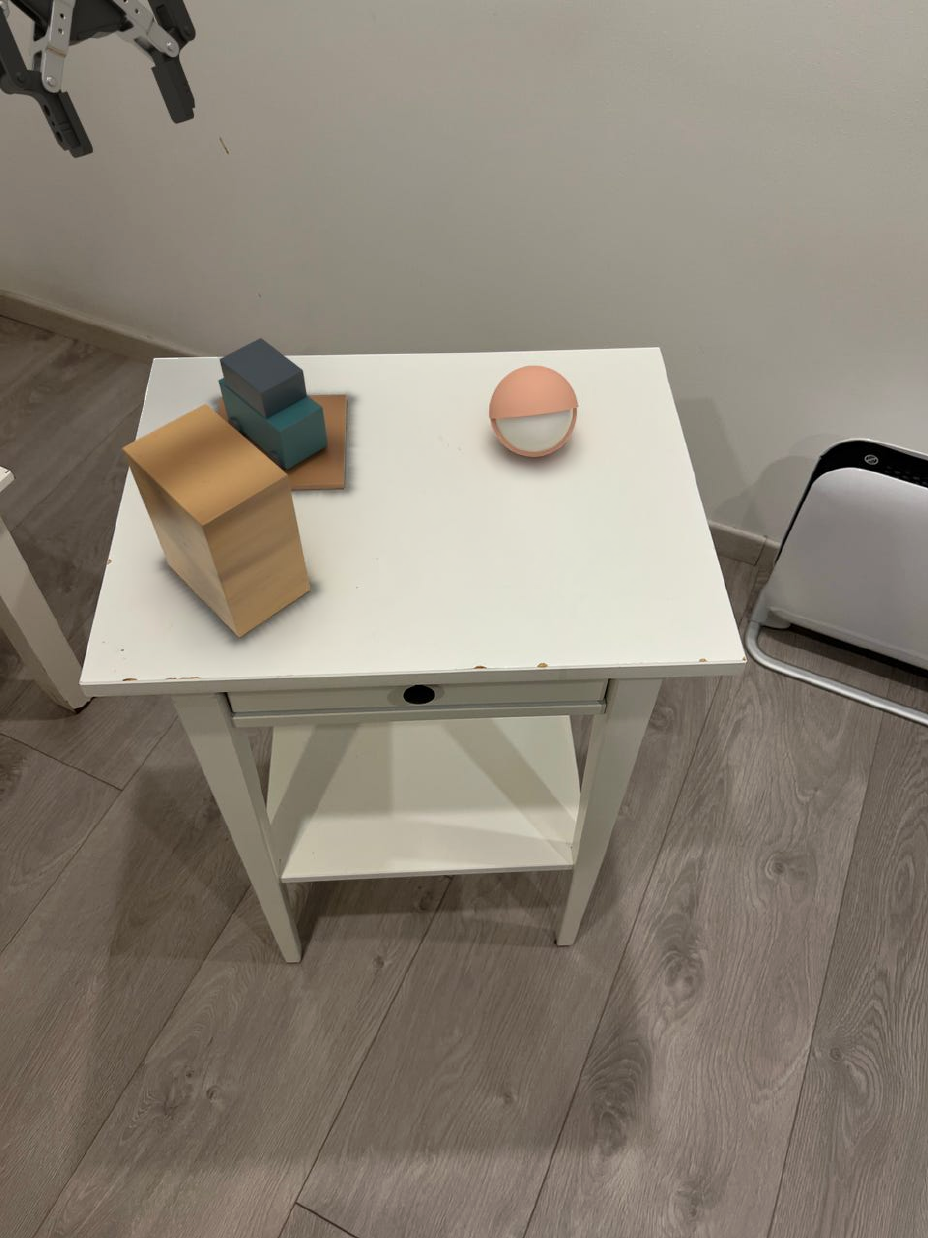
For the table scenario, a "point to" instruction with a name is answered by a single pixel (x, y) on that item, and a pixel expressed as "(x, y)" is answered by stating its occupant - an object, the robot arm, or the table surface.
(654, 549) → the table surface
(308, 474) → the mat
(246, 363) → the toy van
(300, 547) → the wooden block
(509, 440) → the toy ball
